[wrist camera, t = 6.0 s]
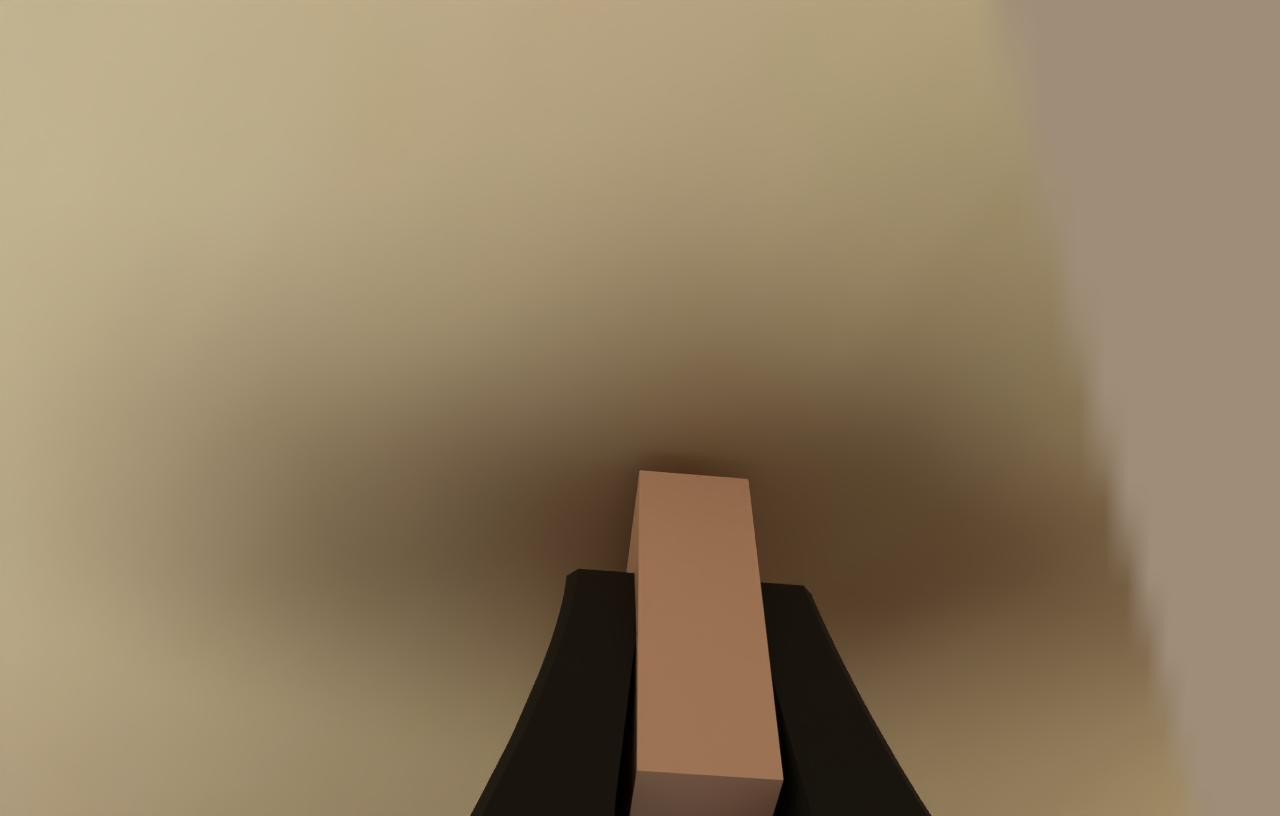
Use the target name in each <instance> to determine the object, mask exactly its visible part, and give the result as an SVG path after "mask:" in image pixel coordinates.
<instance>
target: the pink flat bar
mask: <svg viewBox="0 0 1280 816" xmlns="http://www.w3.org/2000/svg"><path fill="white" fill-rule="evenodd" d="M626 572H627V573H634V577H635V602H636V638H635V646H634V654H633V662H632V671H631V679H630V687H629V695H628V703H627V711H626V719H625V727H624V735H623V743H622V751H621V759H620V767H619V775H618V783H617V791H616V800H615V813H614V816H773V814H774V810H775V807H776V803H777V800H778V797H779V793H780V790H781V787H782V783H783V772H782V764H781V755H780V746H779V738H778V729H777V721H776V712H775V704H774V695H773V686H772V678H771V669H770V661H769V652H768V644H767V635H766V626H765V618H764V609H763V601H762V592H761V584H760V575H759V566H758V558H757V549H756V541H755V532H754V524H753V515H752V506H751V498H750V489H749V481H748V479H742V478H729V477H717V476H704V475H692V474H679V473H667V472H654V471H642V470H639V478H638V486H637V494H636V501H635V509H634V517H633V525H632V533H631V540H630V548H629V556H628V564H627V571H626Z"/></svg>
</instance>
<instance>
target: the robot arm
mask: <svg viewBox="0 0 1280 816" xmlns="http://www.w3.org/2000/svg"><path fill="white" fill-rule="evenodd" d="M760 584H761V592H762V601H763V609H764V618H765V626H766V635H767V644H768V652H769V661H770V669H771V678H772V686H773V695H774V704H775V712H776V721H777V729H778V738H779V746H780V755H781V764H782V772H783V783H782V787H781V790H780V793H779V797H778V800H777V803H776V807H775V810H774V814H773V816H931V814H930V813H929V811H928V810H927V808H926V807H925V805H924V804H923V802H922V801H921V799H920V797H919V796H918V794H917V793H916V791H915V789H914V788H913V786H912V784H911V783H910V781H909V780H908V778H907V776H906V775H905V773H904V771H903V770H902V768H901V766H900V765H899V763H898V761H897V759H896V758H895V756H894V754H893V753H892V751H891V749H890V747H889V746H888V744H887V742H886V740H885V739H884V737H883V735H882V734H881V732H880V730H879V728H878V727H877V725H876V723H875V721H874V720H873V718H872V716H871V714H870V713H869V711H868V709H867V707H866V705H865V703H864V702H863V700H862V698H861V696H860V694H859V692H858V690H857V688H856V686H855V685H854V683H853V681H852V679H851V677H850V675H849V673H848V671H847V669H846V667H845V665H844V663H843V661H842V659H841V657H840V655H839V653H838V651H837V649H836V647H835V645H834V643H833V641H832V639H831V637H830V635H829V633H828V631H827V628H826V626H825V624H824V622H823V620H822V618H821V615H820V613H819V611H818V609H817V606H816V604H815V602H814V600H813V597H812V595H811V593H810V592H809V591H808V590H807V589H806V588H805V587H804V586H801V585H788V584H775V583H761V582H760ZM635 638H636V602H635V577H634V573H627V572H614V571H600V570H587V569H577V570H576V571H574V572H572V573H571V574H569V575H567V578H566V585H565V592H564V597H563V601H562V605H561V609H560V613H559V617H558V620H557V624H556V627H555V630H554V633H553V636H552V639H551V642H550V645H549V648H548V650H547V653H546V656H545V659H544V661H543V664H542V667H541V669H540V672H539V675H538V677H537V679H536V681H535V684H534V686H533V688H532V691H531V693H530V695H529V698H528V700H527V702H526V704H525V707H524V709H523V711H522V714H521V716H520V718H519V721H518V723H517V725H516V728H515V730H514V732H513V734H512V736H511V738H510V740H509V742H508V744H507V746H506V748H505V750H504V752H503V754H502V756H501V758H500V760H499V762H498V764H497V766H496V768H495V769H494V771H493V773H492V775H491V777H490V779H489V781H488V783H487V785H486V787H485V789H484V791H483V793H482V795H481V797H480V799H479V800H478V802H477V804H476V806H475V808H474V810H473V812H472V813H471V815H470V816H614V813H615V800H616V791H617V783H618V775H619V767H620V759H621V751H622V743H623V735H624V727H625V719H626V711H627V703H628V695H629V687H630V679H631V671H632V662H633V654H634V646H635Z"/></svg>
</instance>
